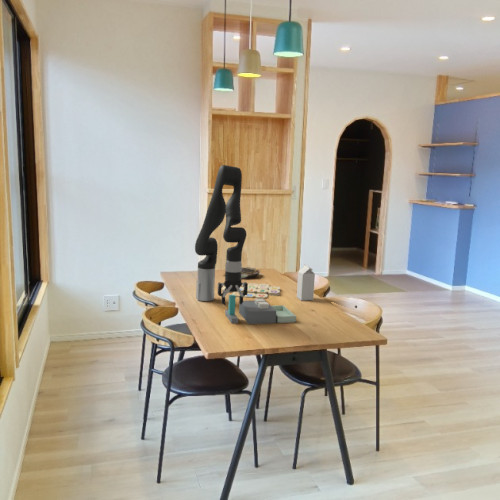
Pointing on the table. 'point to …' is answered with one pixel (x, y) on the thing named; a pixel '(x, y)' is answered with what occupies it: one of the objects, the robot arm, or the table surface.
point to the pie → (249, 273)
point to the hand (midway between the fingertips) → (232, 304)
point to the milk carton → (305, 283)
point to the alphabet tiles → (258, 291)
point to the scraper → (231, 310)
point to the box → (284, 314)
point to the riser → (257, 313)
